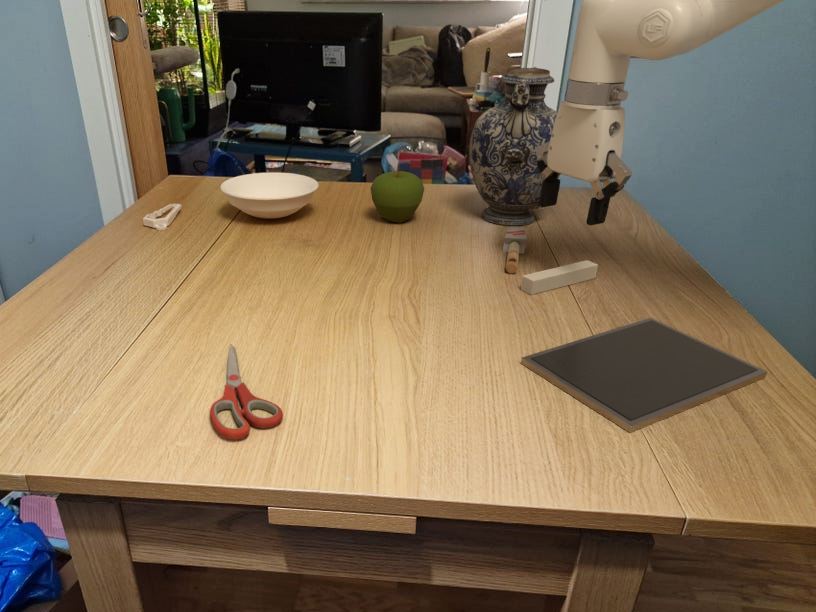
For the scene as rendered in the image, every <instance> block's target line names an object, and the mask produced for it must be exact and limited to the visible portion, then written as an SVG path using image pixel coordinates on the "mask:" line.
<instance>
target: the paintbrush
mask: <svg viewBox="0 0 816 612" xmlns="http://www.w3.org/2000/svg"><path fill="white" fill-rule="evenodd" d="M527 240H528V239H527V234H526V228H525V227H524V226H523V227H522V226H508V229H507V231H506V233H505V236H504V240H503V246H502V253H507V255H506V256H507V257H506V263H505V271H506V272H507V273H508V274H515V273H516V272H517V271H518V267H519V257H520V254H522V255H525V250H526V243H527Z"/></svg>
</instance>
